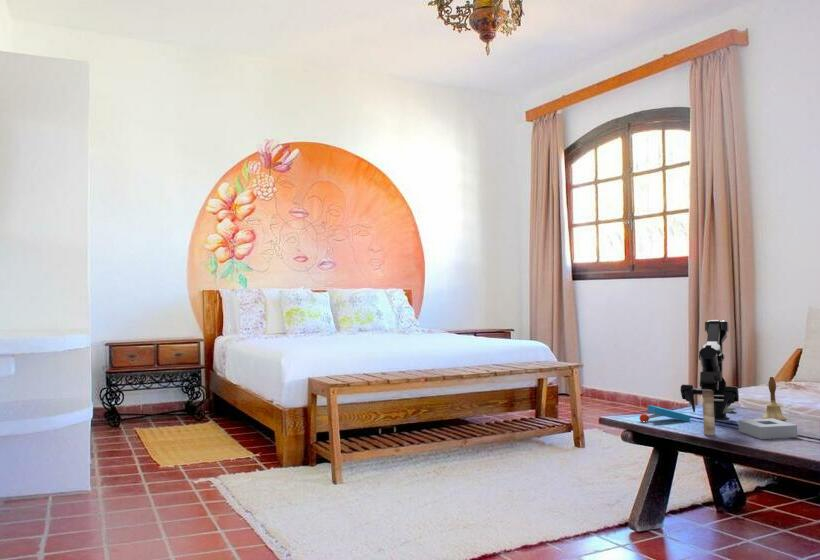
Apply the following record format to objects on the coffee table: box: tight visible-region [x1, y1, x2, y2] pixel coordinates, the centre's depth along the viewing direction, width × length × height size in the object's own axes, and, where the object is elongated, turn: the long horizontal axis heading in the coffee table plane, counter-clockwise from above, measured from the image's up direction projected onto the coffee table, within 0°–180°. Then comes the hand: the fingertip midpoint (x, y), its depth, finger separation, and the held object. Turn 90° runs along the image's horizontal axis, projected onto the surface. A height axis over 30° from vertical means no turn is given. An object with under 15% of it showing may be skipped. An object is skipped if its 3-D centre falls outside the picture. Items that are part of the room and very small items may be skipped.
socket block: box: [737, 418, 798, 440], centre depth 238 cm, size 13×13×4 cm
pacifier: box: [726, 403, 737, 413], centre depth 283 cm, size 7×6×6 cm
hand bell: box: [761, 376, 787, 421], centre depth 265 cm, size 8×8×16 cm
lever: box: [639, 404, 692, 422], centre depth 267 cm, size 7×7×18 cm
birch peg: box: [702, 390, 716, 436], centre depth 241 cm, size 4×4×15 cm
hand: (708, 412), depth 240 cm, fingers open, 9 cm apart
